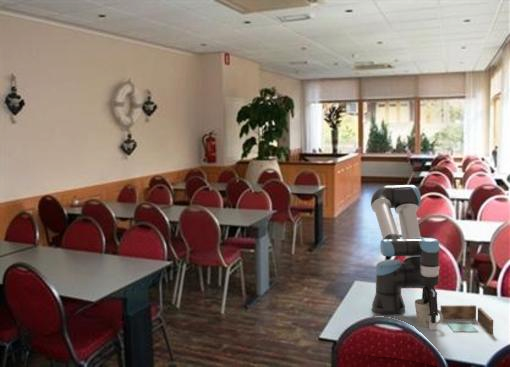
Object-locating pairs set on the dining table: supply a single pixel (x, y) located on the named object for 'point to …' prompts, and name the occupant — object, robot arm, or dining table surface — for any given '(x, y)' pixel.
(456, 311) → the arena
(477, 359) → the dining table surface
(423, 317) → the mug
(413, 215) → the robot arm
